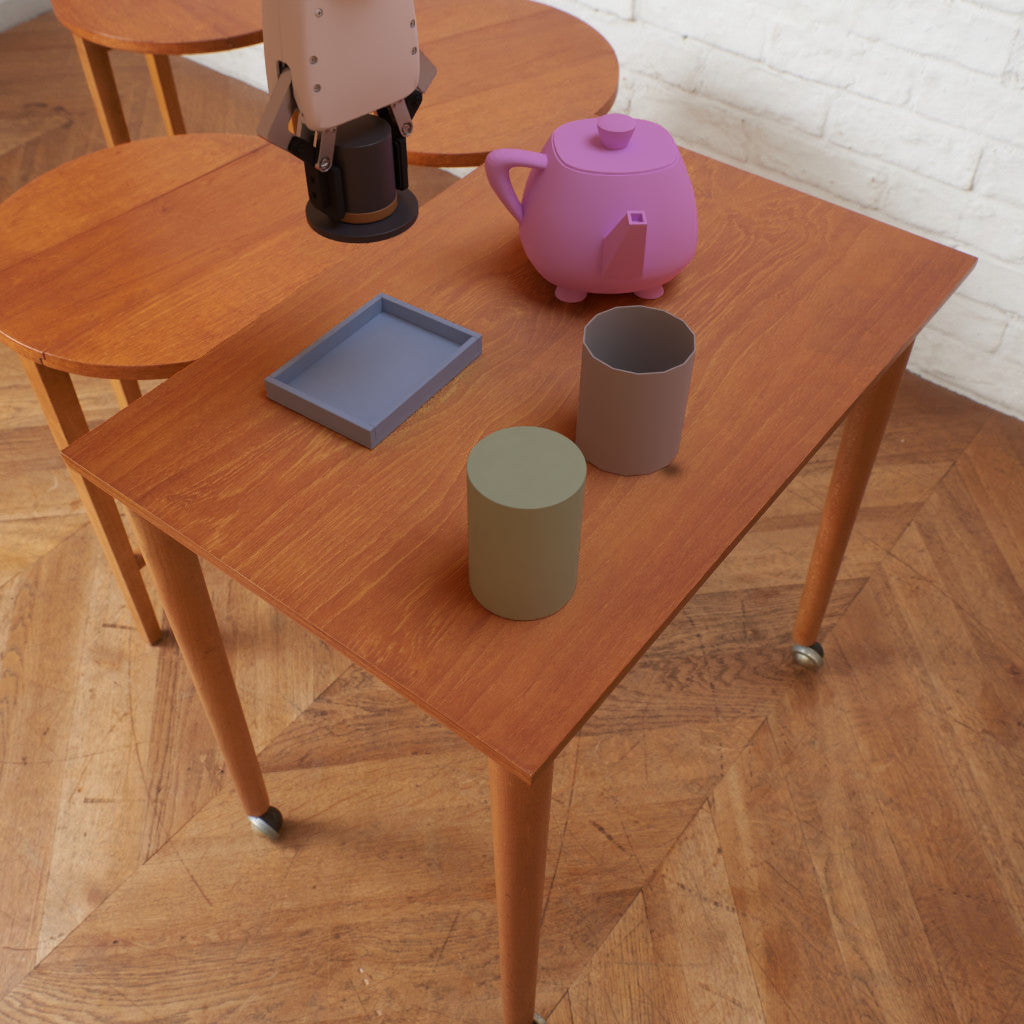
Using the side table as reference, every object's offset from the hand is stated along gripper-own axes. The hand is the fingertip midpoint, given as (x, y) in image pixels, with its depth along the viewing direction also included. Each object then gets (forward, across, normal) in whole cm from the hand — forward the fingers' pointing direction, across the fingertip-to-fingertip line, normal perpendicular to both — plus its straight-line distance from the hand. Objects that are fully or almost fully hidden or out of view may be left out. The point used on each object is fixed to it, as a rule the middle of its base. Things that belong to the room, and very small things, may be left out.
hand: (360, 195), depth 78 cm
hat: (+1, 0, 0) cm, 1 cm away
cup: (+17, -9, +20) cm, 28 cm away
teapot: (+17, -23, +3) cm, 29 cm away
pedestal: (+17, +8, +25) cm, 31 cm away
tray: (+17, 0, 0) cm, 17 cm away
